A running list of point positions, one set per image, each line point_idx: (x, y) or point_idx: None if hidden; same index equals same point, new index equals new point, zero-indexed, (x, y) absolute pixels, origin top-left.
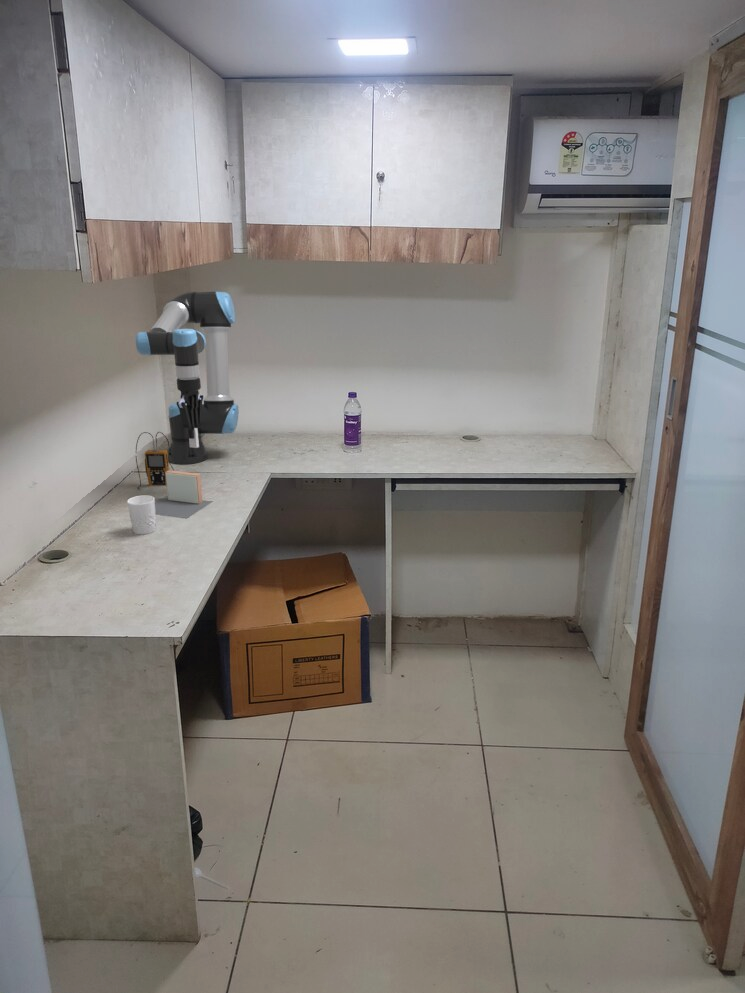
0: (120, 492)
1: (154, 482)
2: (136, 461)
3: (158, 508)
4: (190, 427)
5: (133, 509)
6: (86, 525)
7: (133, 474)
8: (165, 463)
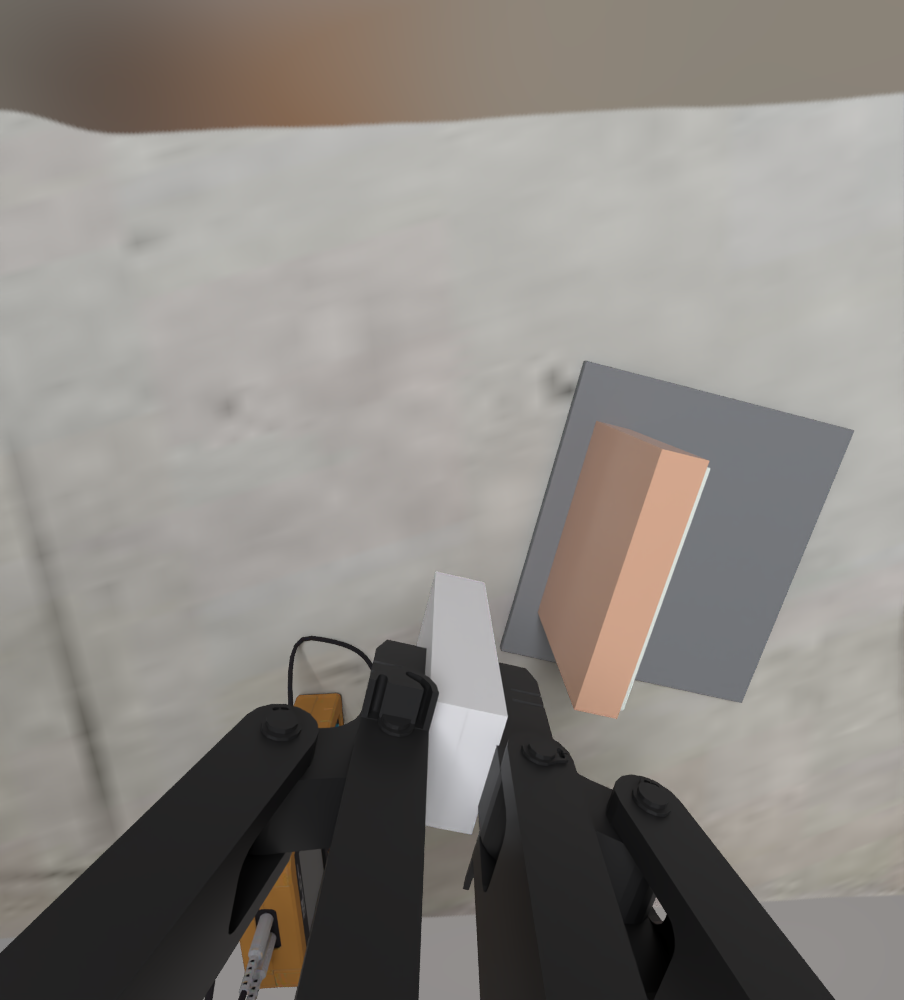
0: (443, 876)
1: None
2: None
3: (693, 626)
4: (663, 795)
5: None
6: (864, 851)
7: None
8: None
